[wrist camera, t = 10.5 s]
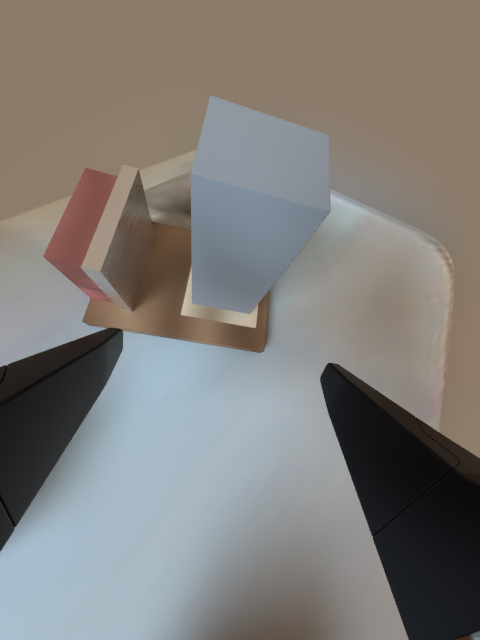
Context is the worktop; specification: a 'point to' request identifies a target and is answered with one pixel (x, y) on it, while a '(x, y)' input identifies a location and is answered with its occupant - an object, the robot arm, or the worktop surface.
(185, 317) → the shelf board
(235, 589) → the worktop surface
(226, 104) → the tall blue-gray box
